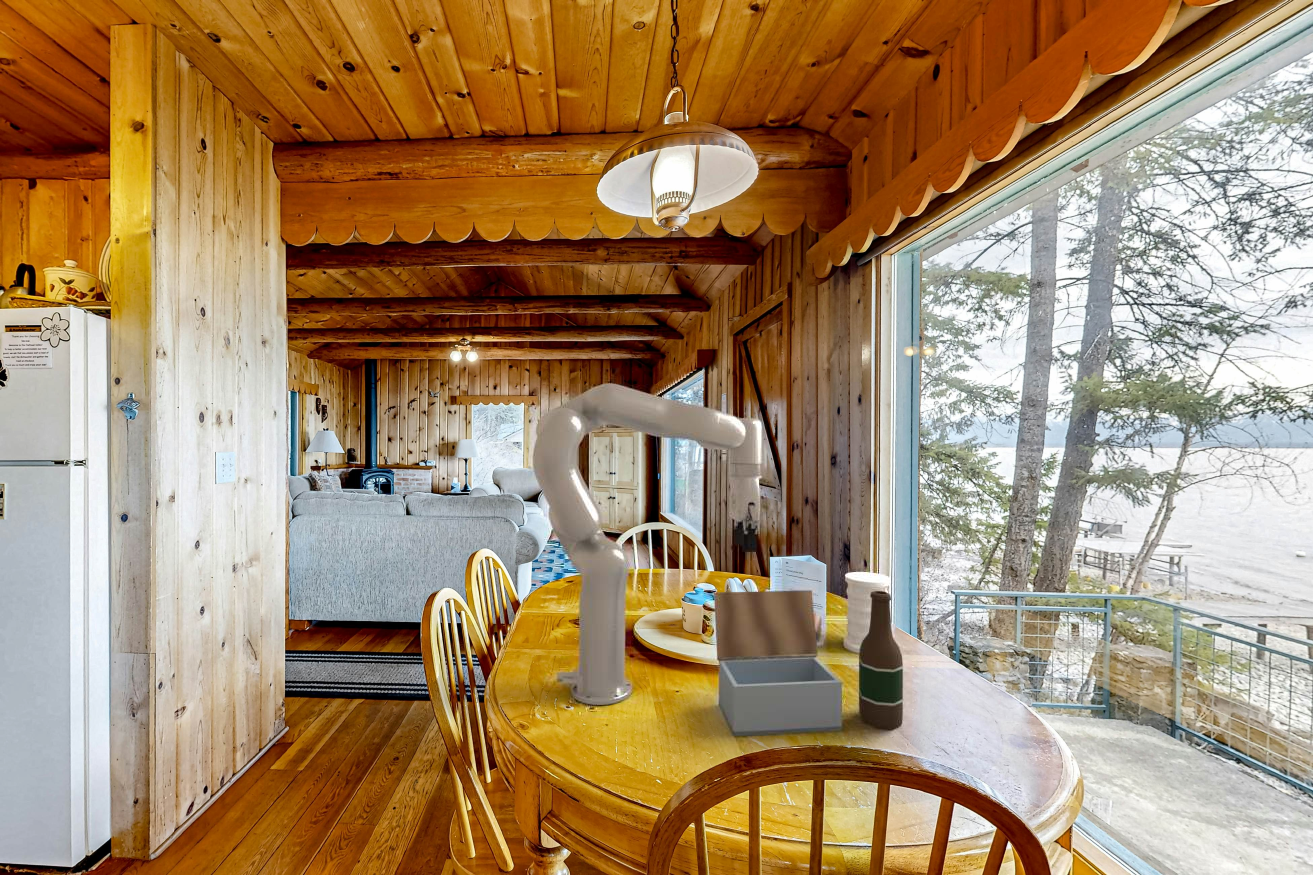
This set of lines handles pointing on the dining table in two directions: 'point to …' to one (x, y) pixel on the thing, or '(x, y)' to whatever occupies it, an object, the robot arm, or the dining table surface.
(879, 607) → the beer bottle
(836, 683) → the crate
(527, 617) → the dining table surface
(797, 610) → the lid
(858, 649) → the decorative container
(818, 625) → the packaged product
